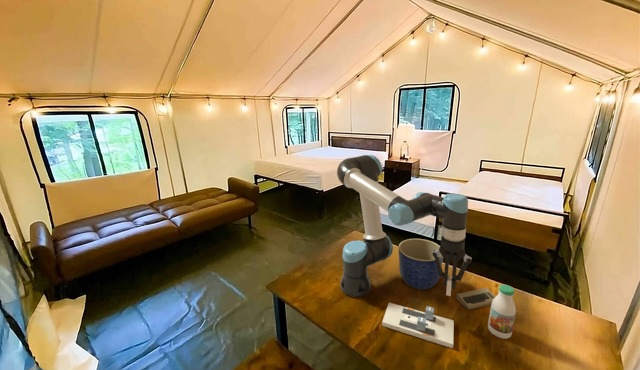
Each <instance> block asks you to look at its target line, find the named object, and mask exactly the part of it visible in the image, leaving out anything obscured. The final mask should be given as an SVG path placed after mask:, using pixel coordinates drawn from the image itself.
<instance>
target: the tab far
mask: <svg viewBox="0 0 640 370" xmlns="http://www.w3.org/2000/svg"><path fill="white" fill-rule="evenodd" d="M434 311H435V308H434V307H431V306H428V305H426V307H425V318H426V319H430V320H433V315H435V314H434V313H435V312H434Z"/></svg>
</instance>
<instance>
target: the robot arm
mask: <svg viewBox="0 0 640 370" xmlns="http://www.w3.org/2000/svg"><path fill="white" fill-rule="evenodd" d="M382 173H383V166H382V163H381V161H380V159H379V158H377V156H376V155H373V154H363V155H358V156H353V157H347V158H344V159H343V160H342V161H341V162H339V164H338V166H337V170H336V176H337V178H338V181H339V182H340V183H341V184H342V185H344V186H345V187H346V188H348V189H353V190H355V191H356V192H358V193H359V199H360V204H361V212H362V219H363V225H364V232H365V233H364V234H363V235H362V238H363V239H362V240H363V241H362V240H359V239H358V240H351V241H348V242H347V243H346V244H345V245H344V246H343V248H342V255H341V256H342V267H343V274H342V276H341V278H340V279H341V280H340V283H339V284H340V286H341V287H340V286H339V287H340V290H341V289H342V290H341V292H342V291H343V292H344V293H346V294H347V295H346V294H345V295H346V296H348V295H350V296H349V297H351V296H354V297H353V298H361V297H360V296H362V297H365V296H367V295H368V294H369V293H370V292H371V290H372V284H371V281H370V278H369V275H368V267H370V266H373V265H375V264H378V263H380V262H382V261H385V260H387V259H388V258H390V257H391V256H392V255H393V250H394V246H393V242H392V240H391V239H390V237H389V236H388V235H387V234H386V232H384V231H383V226H382V218H381V211H380V208H381V209H383V210H384V211H385V212H387V213H388V218H389V220H390V221H391V223H392V224H393V225H394V226H395V225H396V226H400V227H401V226H404V225H409V224H411V223H412V222H415V221H418V220H421V219H423V218H426V217H429V216H432V217H435V218H438V219H441V220H442V221H441V222H442V223H441V237H440V245H439V246H440V248H439V250H433V253H432V255H433V256H434V258H435V261H436V265H437V269H438V274H439V276H440V277H439V278H443V286H444V287H446V291H445V293H446V294H445V296H448V297H451V296H452V295H451V294H452V289H455V288H456V282H457V281H458V282H461V281H462V280H463V276H464V275H465V272H466V271H467V268H468V266H469V265H470V264H471V263H472V260H473V259H472V256H471V255H467V253H466V251H465V244H466V243H465V242H466V240H465V239H466V232H467V218H468V212H469V200H468V197H467V196H466V195H464V194H460V193H447V194H445V195H444V196H438V195H435V194H432V193H429V192H422V191H420V192H417V193H416V194H415V195H414V196H413V198H412V199H409V200H407V199H406V198H404V197H402V196H401V195H399V194H398V193H395V192H393V190H390V189H388V188H387V187H385V186H383V185H382V184H380V183H379V177H380V176H381V174H382ZM440 254H441V255H442V256H443V260H445V261H444V270H443V267H442V266H443V265H442V266H441V261H440V257H439V256H440ZM462 259H463V262H462V264H461V266H460V268H459V271H458V273H457V265H458V262H460V261H461V260H462ZM450 262H452V273H451V276H449V267H450ZM443 271H444V272H443ZM343 292H342V293H343ZM344 293H343V294H344ZM366 294H367V295H366ZM364 295H365V296H364Z"/></svg>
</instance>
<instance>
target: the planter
mask: <svg viewBox="0 0 640 370" xmlns="http://www.w3.org/2000/svg"><path fill="white" fill-rule="evenodd" d="M440 246H441V245H439V244H438V243H436V242H434V241H431V240H428V239H425V238H424V239H422V238H409V239H405V240H402V241H401V242H400V243H399V244H398V246H397V247H398V267H399V269H398V270H399V273H400V276H401V278H402V280H403V281H404V283H406V285H408V286H410V287H412V288H414V289H417V290H429V289H432V288H433V287H434V286H436V285H437V283H438V282H439V280H440V278H441V277H440V276H439V274H438V269H437V265H436V261H435V258H434V256H433V255H432V253H433V250H439V248H440ZM439 257H440V261H441V266H443V261H444V258H443V256H442V255H441V254H440V256H439Z"/></svg>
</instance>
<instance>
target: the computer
mask: <svg viewBox="0 0 640 370" xmlns="http://www.w3.org/2000/svg"><path fill="white" fill-rule="evenodd" d="M496 296H497V295H495V294H494V293H493V292H492V291H491V290H490V289H488V288H487V287H484V288H478V289H474V290H469V291H466V292H461V293H460V292H459V293H457V294H455V299H456V301H458V302H459V303H460V304H461V305H462V306H464V307H465V308H466V310H468V311H469V310H470V311H471V310H474V309H478V308H482V307H486V306H491V304H492V301H493V299H494V298H495V297H496Z"/></svg>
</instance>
